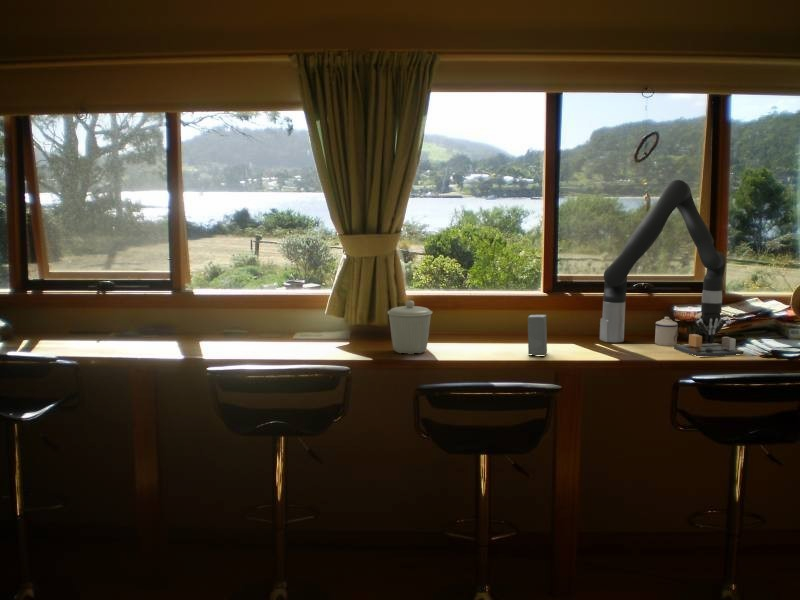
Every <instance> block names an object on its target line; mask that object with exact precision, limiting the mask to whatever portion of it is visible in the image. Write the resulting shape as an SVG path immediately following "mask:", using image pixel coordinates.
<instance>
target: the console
mask: <svg viewBox="0 0 800 600" xmlns="http://www.w3.org/2000/svg"><path fill="white" fill-rule="evenodd" d="M721 345H722V343H716V342H715V343H714V342H713V343H712V344H708V343H702V347H693V346H690V345H689V344H678V345H677V344H676V345H674V346H673V347H674V348H673V349H674V350H675V349H676V350H675V351H678V350H679V351H678V352H681V351H682V353H684V352H686V353H685V354H687V353H689V354H688V355H690V354H693V355H696V356H718V357H726V356H725V355H736V354H745V353H744V350H741V349H737V348H735V350H727V349H723V348H721ZM693 355H692V356H693ZM736 356H737V355H736Z"/></svg>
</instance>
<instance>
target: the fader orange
mask: <svg viewBox="0 0 800 600" xmlns="http://www.w3.org/2000/svg"><path fill="white" fill-rule="evenodd" d="M702 344H703V336H702V335H699V334H696V333H693V334H692V333H689V334H688V345H690V346H693V347H702Z"/></svg>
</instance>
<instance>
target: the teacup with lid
mask: <svg viewBox="0 0 800 600" xmlns="http://www.w3.org/2000/svg"><path fill="white" fill-rule="evenodd" d="M678 327H679V323H678V322H676V321H673V320H672V319H671V318H670V317H669V316H664V318H663V319H662V318H661V320H658V321H656V322H655V332H654V333H655V334H654V335H655V336H654V343H655V345H658V346H663V347H664V346H665V347H674V345H677V341H678V340H677V339H678Z"/></svg>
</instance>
